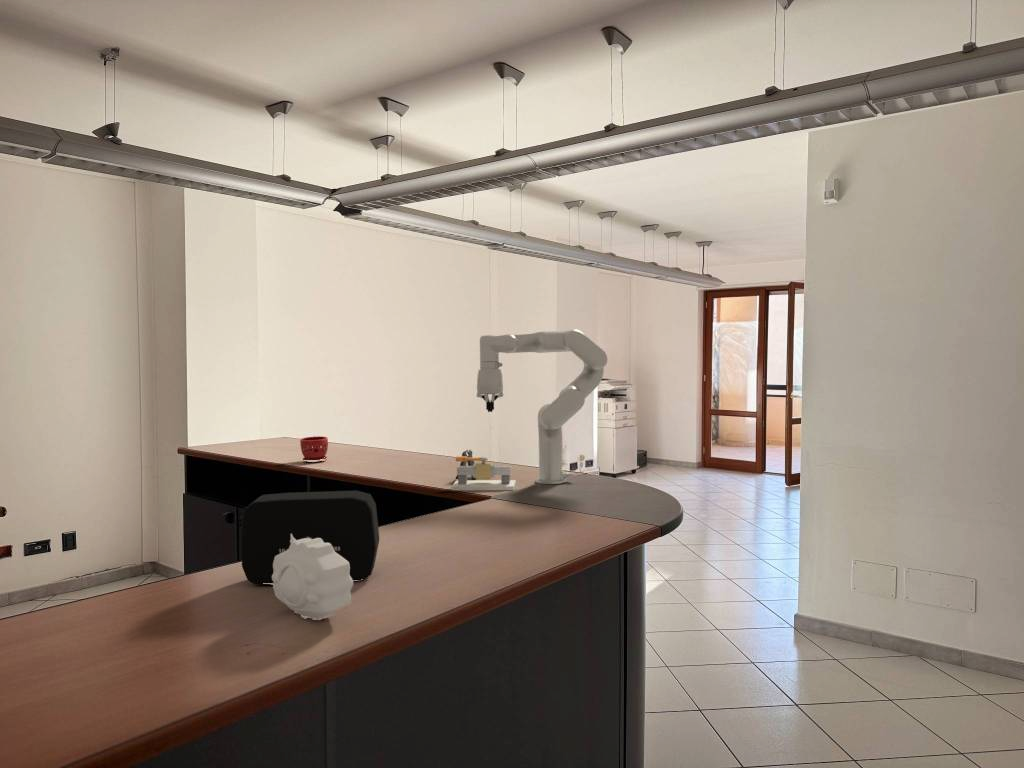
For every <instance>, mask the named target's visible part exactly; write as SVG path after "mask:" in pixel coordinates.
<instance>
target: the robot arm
mask: <svg viewBox="0 0 1024 768" xmlns="http://www.w3.org/2000/svg"><path fill="white" fill-rule="evenodd" d="M561 352H564V353H566V352H572V353H573V354H574V355H575V356H576V357H577V358H579V359H580V360H581V361H582V362H583V369H582V370H581V373H580V374H578V375H577V376H576V377H575V378H574V380H573V381H571V382H570V383H569V384H568V385H567V386H565V387H563V389H562V390H560V391H559V394H558V396H557V397H556V398H555V399H554V400H553V401H552V402H551V403H547V404H544V405H543V406H541V407H540V408H539V410H538V413H537V427H538V477H537V478H535V483H537V484H541V485H559V484H566V483H567V478H570V479H571V478H573V479H574V477H575V475H574V474H575V473H574V472H566V471H564V469H563V428H562V426H564V425H565V424H566V423H567V422H568V421H569V420H571V418H573V417H574V416H575V415H576V414H578V412H580V410H581V409H582V408H583V407H584V405H585V401H586V398H587V397H588V396H590V394H592V392H593V391H595V390H596V388H598V386H599V385H600V384H601V381H602V379H603V376H604V370H605V367H606V365H607V364H608V355H607V353H606V351H604V349H603V348H601V347H600V346H599V345H598V344H597V343H595V341H593V340H592V339H591V338H589V336H587V335H586V334H584V332H582V331H580V330H578V329H571V330H570V329H569V330H568V329H567V330H551V331H550V330H549V331H538V332H534V333H525V334H523V333H521V334H503V335H495V334H494V335H491V334H490V335H489V334H487V335H481V336H480V338H479V367H480V368H479V369H478V372H477V379H476V381H477V383H476V390H477V392H476V397H477V398H480V399H483V401H484V402H485V406H486V407H485V408H486V409H485V410H487V412H488V413H492V412H493V410H494V411H495V401H496V400H497V399H498V398H502V397H504V393H503V392H504V385H503V375H502V374H503V373H502V370H501V369H500V367H503V362H500V360H499V359H500V358H499V353H503V354H515V353H516V354H518V353H537V354H542V353H543V354H546V353H561ZM489 395H491V398H489ZM490 399H491V400H490Z"/></svg>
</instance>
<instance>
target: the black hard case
mask: <svg viewBox="0 0 1024 768" xmlns="http://www.w3.org/2000/svg"><path fill="white" fill-rule="evenodd" d="M377 512H378V511H377V503H376V502H375V500H374V498H373V496H372V494H371V493H367V492H364V491H360V490H331V491H303V492H300V491H299V492H298V491H297V492H281V493H270V494H261V496H259V497H257V498H256V499H255V500H254V501H252V502H251V503H250V504H248V505H247V506H245V507H244V511H243V514H242V516H241V518H242V519H241V537H240V542H241V545H240V546H241V568H242V570H243V572H244V574H245V577H246V579H247V581H249V582H250V583H252V584H253V585H255V584H263V583H274V582H273V580H272V575H273V572H274V570H273V562H274V558H275V556H276V555H278V554H280V553H283V552H285V551H287V550H288V549H289V547H290V544H291V543H290V540H291V536H290V535H291V534H292V535H293V537H294V538H295V539H296V540H300V539H304V538H311V539H315V538H321V539H322V540H323V542H324V543H330V544H331V545H332V547H333V549H334V551H335V552H336V553H337V554H339V555H340V556H342V557H343V558H344V559H346V560H347V561H348V562H349V565H350V572H349V574H350V576H351V578H352V580H361V579H364V580H366V579H367V578H369V577H371V575H372V573H373V570H374V567H375V564H376V558H377V554H378V549H379V544H380V531H379V522H378V521H379V520H378V513H377Z"/></svg>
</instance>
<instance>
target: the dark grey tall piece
mask: <svg viewBox="0 0 1024 768" xmlns="http://www.w3.org/2000/svg"><path fill="white" fill-rule="evenodd" d="M461 456H467V457H473V451H472V449H469V450H468V449H467V450H465V451H463V452H462V453H461ZM474 464H476V462H475V460H467V461H460V465H459V466H473V465H474ZM458 476H459V475H457V474H456V476H455V479H458ZM467 480H476V478H473V475H470V476H467Z"/></svg>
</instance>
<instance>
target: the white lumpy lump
mask: <svg viewBox="0 0 1024 768" xmlns="http://www.w3.org/2000/svg"><path fill="white" fill-rule="evenodd" d="M290 536H291V540H290V543H291V544H290V547H289V549H288V550H287V551H285V552H283V553H280V554H278V555H276V556H275V558H274V562H273V570H274V572H273V575H272V580H273V582H274V583H273V586H272V588H273V592H274V596H275V597H276V598H277V599H278V600H279V601H281V602H282V603H283V605H286V606H287V607H288V608H289V609H290V610H291V611H292V610H293V611H295V612H297V613H298V614H297V615H299V614H300V615H303V616H308V617H311V618H316V619H319V618H323V617H325V616H328V615H331V614H333V613H334V614H335V613H336V612H337V610H339V609H341V608H344V607H346V606H349V605H350V604H351V602H352V596H351V594H352V593H351V590H352V588H353V586H354V581H353V580H352V578H351V576H350V574H349V572H350V565H349V562H348V561H347V560H346V559H344V558H343V557H342V556H340V555H339V554H337V553H336V552H335V551H334V549H333V547H332V545H331V544H330V543H324V542H323V540H322V539H321V538H315V539H311V538H304V539H300V540H296V539H295V538H294V537H293V535H292V534H291V535H290ZM293 611H292V612H293ZM334 614H333V615H334ZM300 615H299V616H300ZM311 618H310V619H311Z"/></svg>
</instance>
